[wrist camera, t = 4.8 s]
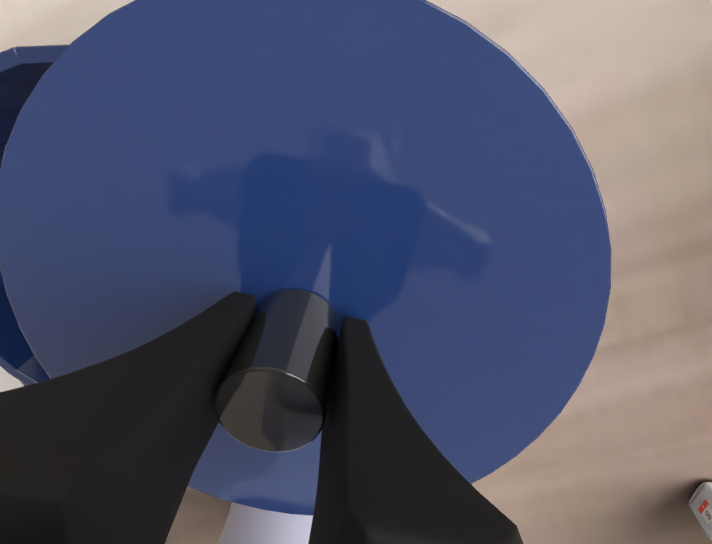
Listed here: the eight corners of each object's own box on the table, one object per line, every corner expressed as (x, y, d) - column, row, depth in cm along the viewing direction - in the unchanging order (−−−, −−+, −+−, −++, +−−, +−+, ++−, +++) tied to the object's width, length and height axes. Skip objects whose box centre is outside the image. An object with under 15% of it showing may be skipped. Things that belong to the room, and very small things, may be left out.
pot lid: (724, 77, 10) (959, 91, 6) (474, 525, 17) (502, 667, 13) (-21, -115, 9) (-346, -255, 5) (53, 440, 16) (-54, 564, 12)
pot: (369, 103, 18) (365, 116, 14) (303, 388, 25) (286, 459, 21) (-19, 3, 17) (-157, -16, 13) (26, 328, 25) (-54, 387, 20)
